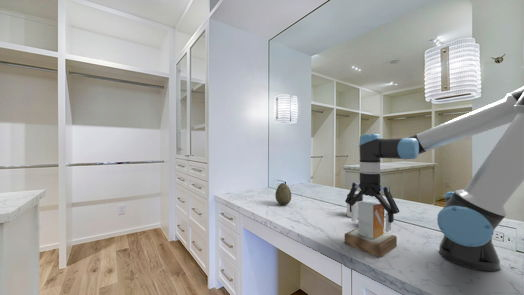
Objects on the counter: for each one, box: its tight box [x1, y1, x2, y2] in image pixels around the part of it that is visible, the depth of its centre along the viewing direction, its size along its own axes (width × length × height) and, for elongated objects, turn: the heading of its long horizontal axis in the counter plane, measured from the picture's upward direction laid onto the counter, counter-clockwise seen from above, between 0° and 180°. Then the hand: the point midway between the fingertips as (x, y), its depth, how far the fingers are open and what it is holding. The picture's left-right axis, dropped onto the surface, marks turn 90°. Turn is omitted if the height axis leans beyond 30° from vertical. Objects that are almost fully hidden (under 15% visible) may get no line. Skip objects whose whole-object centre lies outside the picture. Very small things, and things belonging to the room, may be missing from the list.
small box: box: [357, 199, 385, 239], centre depth 85 cm, size 8×6×13 cm
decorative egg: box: [274, 182, 292, 206], centre depth 143 cm, size 11×11×15 cm
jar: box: [346, 193, 364, 220], centre depth 119 cm, size 9×8×12 cm
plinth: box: [344, 227, 398, 258], centre depth 85 cm, size 14×14×4 cm
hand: (370, 225), depth 85 cm, fingers open, 13 cm apart
